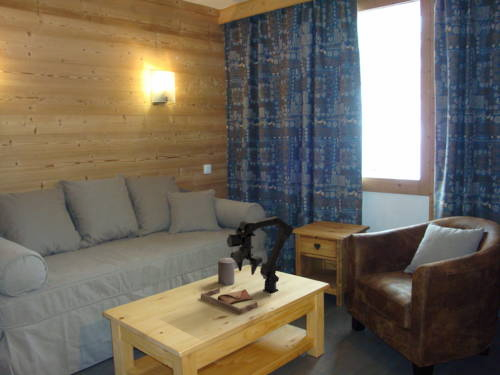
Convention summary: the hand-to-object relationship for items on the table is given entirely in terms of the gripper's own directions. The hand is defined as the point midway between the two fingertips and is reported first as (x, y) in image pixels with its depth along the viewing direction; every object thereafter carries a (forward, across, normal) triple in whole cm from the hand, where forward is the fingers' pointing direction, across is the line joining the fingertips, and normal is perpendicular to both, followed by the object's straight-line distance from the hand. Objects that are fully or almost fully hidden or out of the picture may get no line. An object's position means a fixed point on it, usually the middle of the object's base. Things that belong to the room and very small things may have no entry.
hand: (246, 272), depth 245 cm
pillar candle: (+13, -22, +7) cm, 27 cm away
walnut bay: (+13, 0, -13) cm, 18 cm away
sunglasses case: (+14, 0, -8) cm, 16 cm away
